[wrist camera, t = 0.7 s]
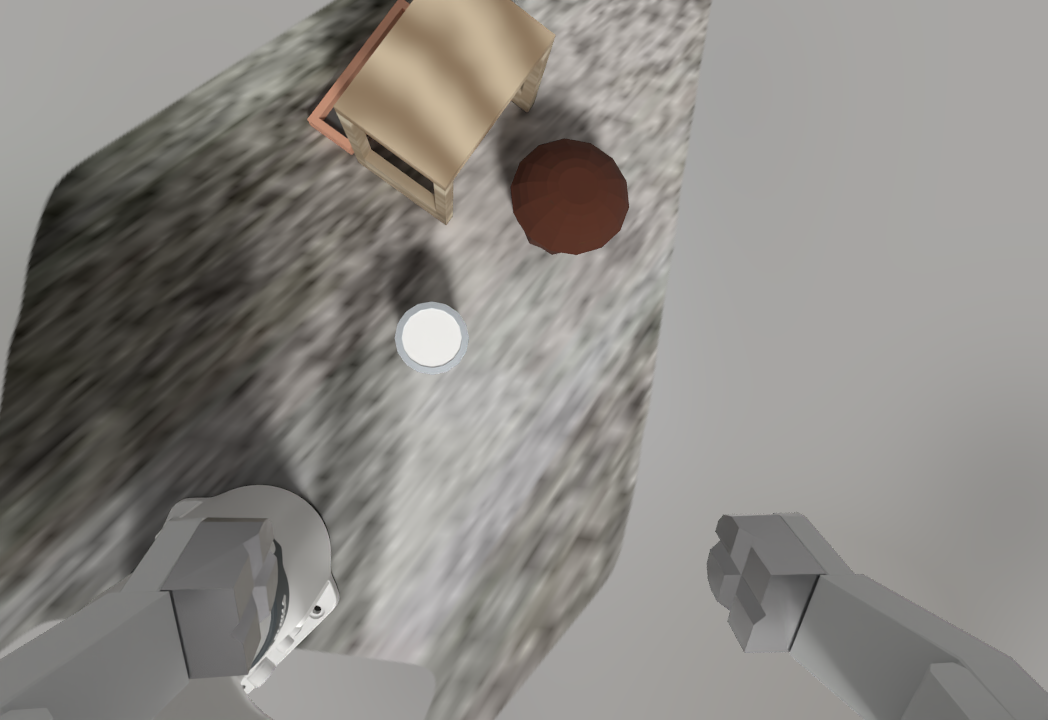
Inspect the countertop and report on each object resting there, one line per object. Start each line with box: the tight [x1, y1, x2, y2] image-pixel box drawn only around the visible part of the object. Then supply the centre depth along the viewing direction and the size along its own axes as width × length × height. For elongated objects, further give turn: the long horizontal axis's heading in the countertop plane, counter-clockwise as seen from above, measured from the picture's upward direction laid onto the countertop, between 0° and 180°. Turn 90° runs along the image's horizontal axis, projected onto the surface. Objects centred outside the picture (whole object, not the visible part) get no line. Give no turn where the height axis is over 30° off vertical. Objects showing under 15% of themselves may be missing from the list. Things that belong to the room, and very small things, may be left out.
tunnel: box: [333, 0, 555, 225], centre depth 54 cm, size 16×11×13 cm
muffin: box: [511, 139, 629, 255], centre depth 57 cm, size 12×11×10 cm
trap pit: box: [307, 0, 410, 155], centre depth 59 cm, size 16×5×2 cm, turn 145°
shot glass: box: [395, 302, 469, 375], centre depth 56 cm, size 7×7×7 cm
